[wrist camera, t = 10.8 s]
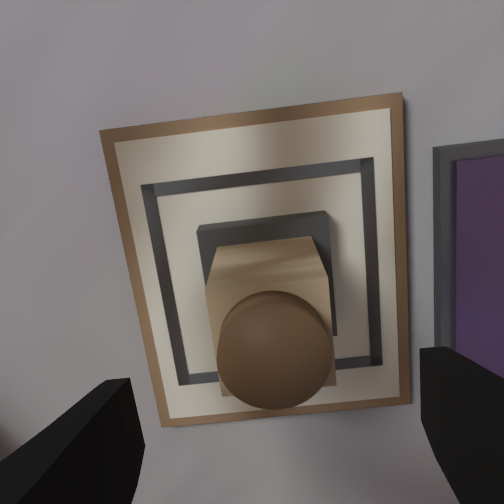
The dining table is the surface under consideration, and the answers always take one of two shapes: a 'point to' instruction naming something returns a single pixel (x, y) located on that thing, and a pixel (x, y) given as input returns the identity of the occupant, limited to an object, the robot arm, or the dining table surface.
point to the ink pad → (470, 251)
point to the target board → (258, 206)
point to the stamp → (271, 307)
